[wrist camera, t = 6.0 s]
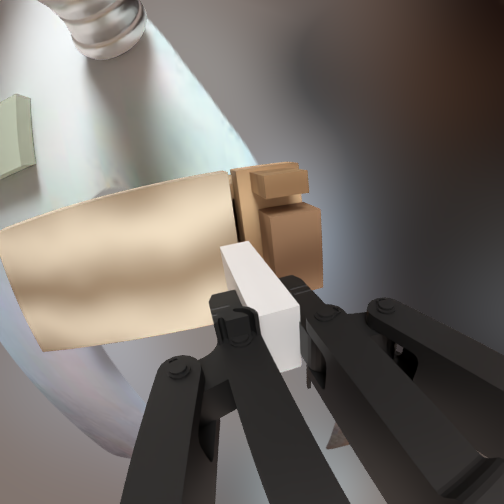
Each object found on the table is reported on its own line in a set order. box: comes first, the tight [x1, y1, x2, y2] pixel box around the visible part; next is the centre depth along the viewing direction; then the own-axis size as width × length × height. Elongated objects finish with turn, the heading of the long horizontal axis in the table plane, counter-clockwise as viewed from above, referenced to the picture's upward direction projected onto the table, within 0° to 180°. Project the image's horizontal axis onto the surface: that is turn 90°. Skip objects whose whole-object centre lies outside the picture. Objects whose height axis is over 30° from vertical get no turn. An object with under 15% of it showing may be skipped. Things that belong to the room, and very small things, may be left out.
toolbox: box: [228, 162, 309, 260], centre depth 19 cm, size 10×22×12 cm, turn 98°
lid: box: [0, 171, 238, 352], centre depth 17 cm, size 10×17×2 cm, turn 98°
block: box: [258, 202, 323, 290], centre depth 17 cm, size 5×3×2 cm, turn 8°
